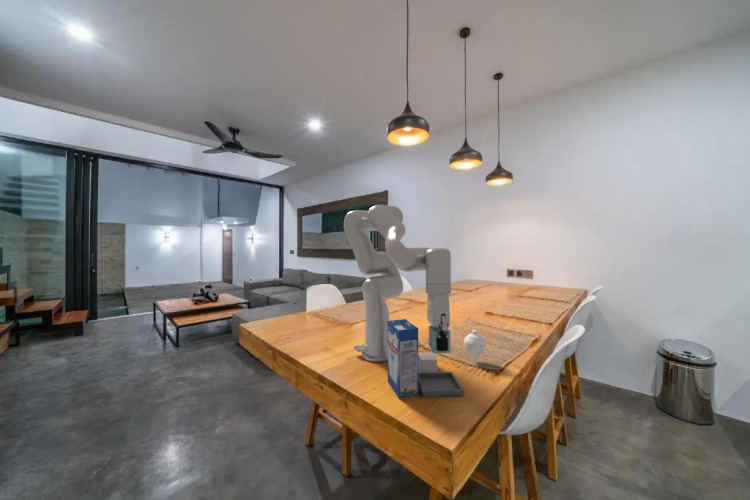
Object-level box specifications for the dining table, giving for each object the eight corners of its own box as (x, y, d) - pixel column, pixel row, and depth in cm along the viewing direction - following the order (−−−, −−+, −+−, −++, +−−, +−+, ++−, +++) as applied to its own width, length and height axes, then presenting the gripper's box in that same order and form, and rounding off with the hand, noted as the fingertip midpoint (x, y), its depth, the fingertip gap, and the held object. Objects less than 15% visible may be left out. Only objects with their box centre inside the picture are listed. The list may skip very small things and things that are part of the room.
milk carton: (418, 395, 80) (418, 328, 79) (399, 399, 78) (398, 330, 77) (405, 378, 89) (405, 318, 89) (387, 381, 88) (387, 320, 87)
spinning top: (461, 357, 105) (461, 327, 105) (481, 357, 105) (481, 327, 104) (467, 366, 97) (467, 333, 97) (489, 367, 97) (489, 334, 97)
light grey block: (414, 373, 93) (414, 359, 93) (411, 365, 99) (411, 352, 99) (440, 372, 93) (440, 359, 93) (436, 364, 99) (436, 352, 99)
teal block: (433, 353, 81) (433, 331, 81) (429, 345, 87) (428, 325, 86) (450, 352, 81) (450, 331, 81) (444, 345, 87) (444, 325, 87)
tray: (422, 397, 79) (422, 391, 79) (415, 378, 90) (415, 372, 90) (463, 396, 79) (463, 390, 79) (451, 377, 90) (451, 371, 90)
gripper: (420, 284, 92) (421, 337, 92) (433, 293, 75) (434, 358, 75) (442, 283, 92) (443, 336, 92) (460, 293, 75) (461, 357, 75)
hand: (439, 345), depth 84 cm, fingers closed on teal block, 6 cm apart
